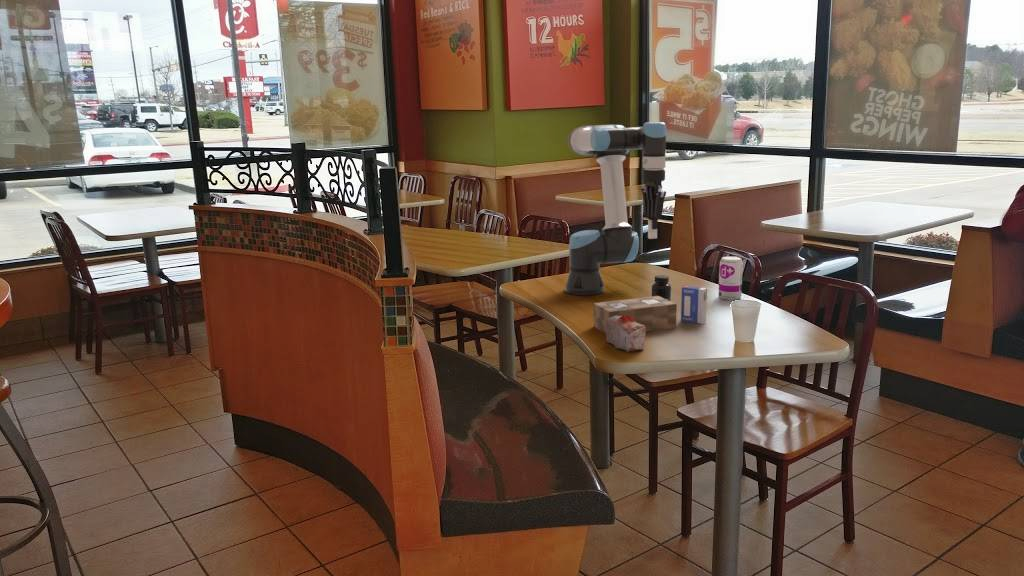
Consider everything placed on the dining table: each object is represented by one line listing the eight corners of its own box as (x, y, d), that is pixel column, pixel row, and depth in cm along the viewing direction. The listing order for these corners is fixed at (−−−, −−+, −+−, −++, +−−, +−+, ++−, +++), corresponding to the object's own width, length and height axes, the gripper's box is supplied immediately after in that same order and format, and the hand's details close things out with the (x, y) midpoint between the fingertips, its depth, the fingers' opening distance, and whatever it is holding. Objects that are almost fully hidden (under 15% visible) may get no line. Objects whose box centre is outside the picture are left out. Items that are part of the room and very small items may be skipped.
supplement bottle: (670, 312, 286) (671, 278, 284) (650, 311, 288) (651, 278, 285) (670, 307, 293) (671, 274, 290) (651, 306, 294) (652, 274, 292)
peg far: (640, 321, 273) (640, 300, 271) (653, 319, 274) (654, 299, 273) (647, 324, 268) (648, 304, 267) (661, 323, 270) (661, 302, 268)
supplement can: (732, 301, 299) (734, 261, 296) (713, 297, 305) (715, 258, 302) (745, 297, 304) (747, 258, 301) (726, 293, 310) (728, 255, 307)
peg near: (607, 325, 269) (608, 304, 267) (621, 323, 270) (621, 302, 269) (614, 329, 264) (615, 308, 263) (628, 327, 266) (628, 306, 264)
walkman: (680, 321, 276) (681, 286, 273) (683, 319, 278) (685, 284, 275) (703, 324, 271) (704, 289, 268) (706, 322, 273) (707, 287, 271)
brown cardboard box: (593, 326, 271) (593, 303, 269) (657, 318, 279) (658, 295, 277) (609, 336, 260) (610, 311, 258) (676, 327, 268) (676, 303, 266)
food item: (649, 350, 245) (649, 319, 243) (627, 355, 242) (627, 323, 239) (622, 339, 257) (623, 309, 255) (601, 343, 254) (601, 312, 251)
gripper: (634, 167, 280) (633, 236, 286) (653, 171, 268) (652, 242, 274) (654, 166, 282) (652, 234, 288) (673, 169, 271) (671, 240, 276)
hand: (652, 238), depth 281 cm, fingers closed
